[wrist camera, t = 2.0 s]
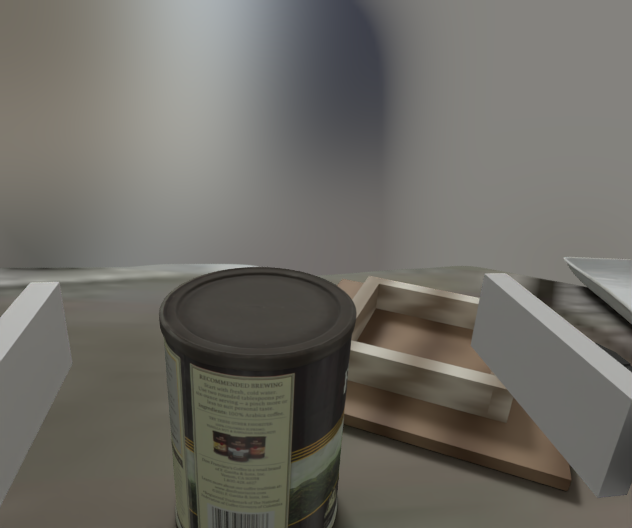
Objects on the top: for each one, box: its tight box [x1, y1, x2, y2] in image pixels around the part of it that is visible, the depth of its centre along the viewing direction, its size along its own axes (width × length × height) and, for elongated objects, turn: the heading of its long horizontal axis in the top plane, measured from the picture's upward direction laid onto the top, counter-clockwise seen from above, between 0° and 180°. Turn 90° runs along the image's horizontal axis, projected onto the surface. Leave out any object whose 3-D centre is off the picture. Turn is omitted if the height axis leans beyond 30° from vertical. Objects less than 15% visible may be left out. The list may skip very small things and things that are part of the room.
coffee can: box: [159, 267, 357, 528], centre depth 29 cm, size 10×10×14 cm
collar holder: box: [337, 276, 571, 491], centre depth 47 cm, size 24×24×4 cm
